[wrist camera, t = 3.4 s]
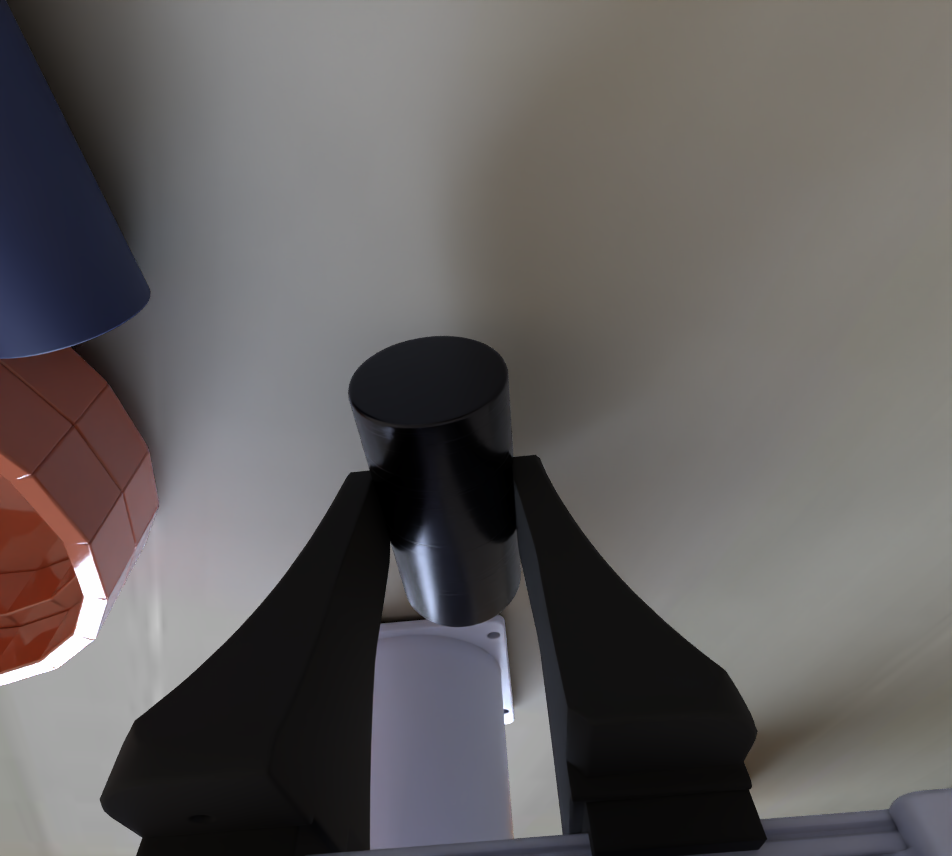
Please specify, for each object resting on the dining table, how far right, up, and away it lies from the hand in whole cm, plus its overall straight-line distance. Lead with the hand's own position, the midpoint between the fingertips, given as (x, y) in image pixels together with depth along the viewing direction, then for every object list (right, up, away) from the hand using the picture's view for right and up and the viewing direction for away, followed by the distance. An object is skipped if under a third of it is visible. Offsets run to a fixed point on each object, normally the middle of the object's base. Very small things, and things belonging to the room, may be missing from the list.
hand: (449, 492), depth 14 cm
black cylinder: (0, +1, +1) cm, 2 cm away
